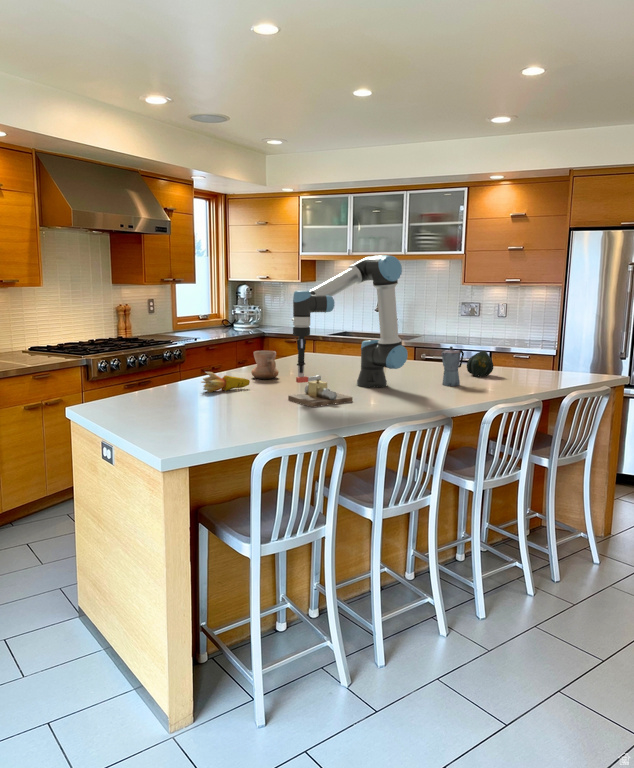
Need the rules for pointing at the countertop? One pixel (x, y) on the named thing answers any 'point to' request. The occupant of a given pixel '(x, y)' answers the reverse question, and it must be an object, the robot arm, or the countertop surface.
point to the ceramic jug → (265, 365)
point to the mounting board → (318, 399)
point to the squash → (480, 364)
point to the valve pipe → (319, 390)
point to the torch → (223, 382)
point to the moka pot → (451, 366)
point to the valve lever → (308, 378)
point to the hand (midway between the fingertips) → (300, 379)
